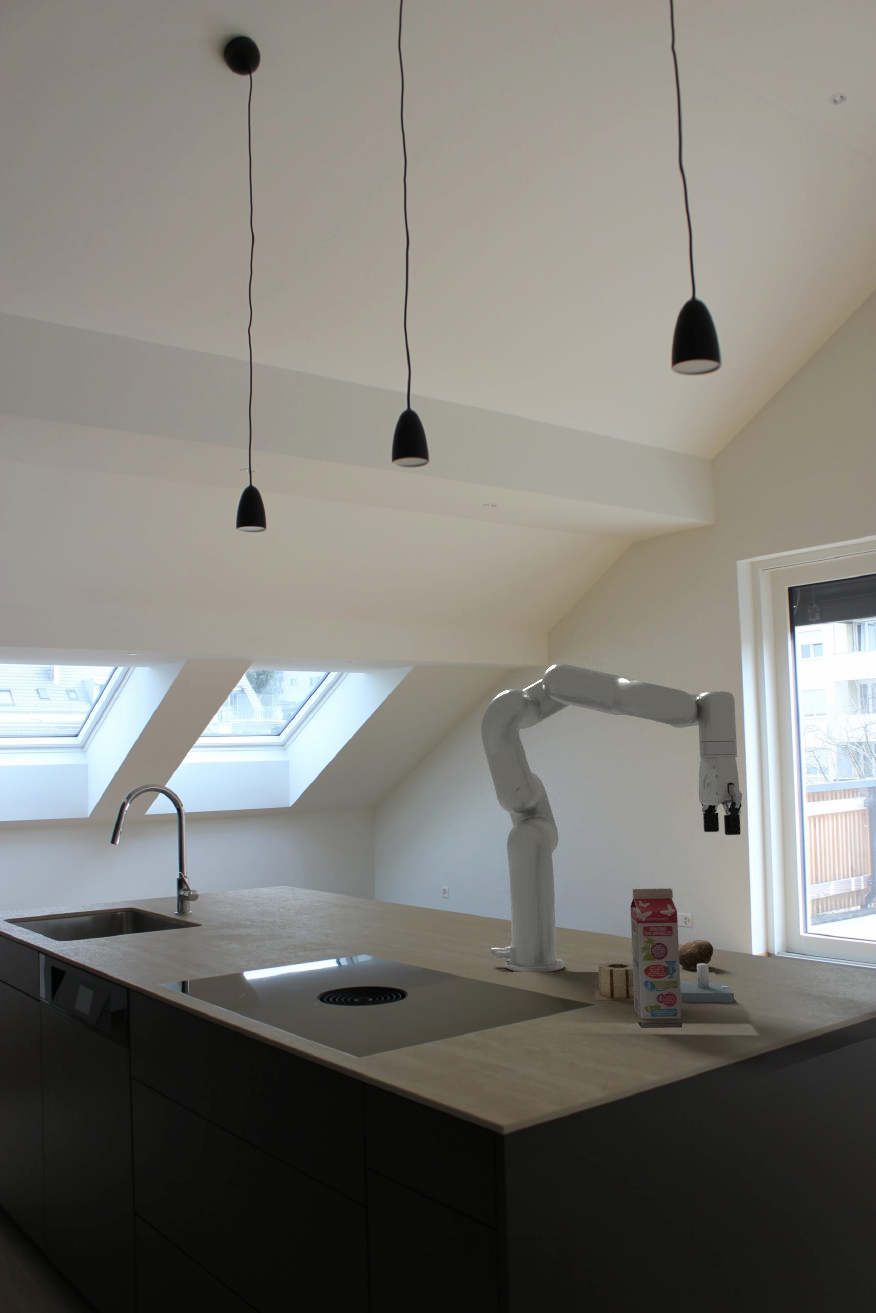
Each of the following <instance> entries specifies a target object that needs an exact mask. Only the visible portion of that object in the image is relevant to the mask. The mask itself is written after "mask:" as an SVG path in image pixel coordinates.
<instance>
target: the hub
mask: <svg viewBox="0 0 876 1313" xmlns="http://www.w3.org/2000/svg"><path fill="white" fill-rule="evenodd" d="M696 974H697V976H696V977H697V981H680V990H681V1003H735V993H734V991H733V990H732V989H731V988H730V986H729V985H728V984H727V983H726V982H725V981H710V974H709V963H708V964H703V963H700V964H697V969H696Z"/></svg>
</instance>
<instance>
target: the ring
mask: <svg viewBox="0 0 876 1313" xmlns="http://www.w3.org/2000/svg"><path fill="white" fill-rule="evenodd" d="M597 966H598V989H599V994H600V995H601V996H603V997H607V998H614V999H626V998H633V997H634V984H633V963H631V962H622V961H619V962H618V961H617V962H614V961H611V962H603V963H599V964H598V965H597Z"/></svg>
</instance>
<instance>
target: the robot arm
mask: <svg viewBox="0 0 876 1313" xmlns="http://www.w3.org/2000/svg"><path fill="white" fill-rule="evenodd" d="M735 705H736V704H735V697H734V695H733V694H732V693H731V692H729V691H723V690H722V691H721V690H720V691H718V690H717V691H705V692H702V693H700V694H696V693H695V694H692V693H689V692H686V691H684V690H681V689H677V688H672V687H668V686H664V685H659V684H653V683H650V682H645V681H640V680H636V679H631V678H628V677H625V676H622V675H617V674H614V673H613V674H611V673H608V672H603V671H597V670H594V669H591V668H590V669H589V668H585V667H581V666H576V665H572V664H567V663H556V664H555V663H554V664H553V665H551V666H550V667H548V668H547V669H546V670H545V672H544V673H543V676H542V679H540V680H538V681H536V682H535V683H533V684H531V685H529V686H527V687H526V688H524V689H518V688H511V689H510V688H509V689H505V690H503V691H502V692H500V693H499V694H497V695H496V696H494V698H493V699H492V700H491V701H490V702H489V703H488V705H487V707H486V709H485V711H484V713H483V715H482V719H481V723H480V724H481V725H480V731H481V732H480V733H481V734H480V735H481V740H482V745H483V748H484V753H485V755H486V759H487V763H488V767H489V773H490V774H491V778H492V782H493V786H494V790H495V794H496V798H497V801H498V804H499V805H500V807H501V808H502V809H503V810H505V811H506V812H508V814H509V815H510V818H511V820H510V821H511V823H512V825H513V826H512V828H511V829H510V830H509V833H508V837H507V839H506V841H507V842H506V853H507V860H508V869H509V870H508V872H509V895H510V921H511V922H510V925H511V926H510V927H511V930H510V931H511V942H510V945H509V946H505V948H504V947H503V948H502V947H501V948H500V947H491V948H490V950H491V955H490V956H491V957H492V958H496V959H503V958H505V959H507V960H505V962H504V966H505V968H506V969H508V970H510V971H515V972H520V973H521V972H523V973H543V972H544V973H548V972H554V971H555V972H556V971H559V970H562V969H563V968H565V962H564V960H562V959H560V958H558V957H557V936H556V935H557V934H556V932H557V931H556V902H555V879H554V878H555V877H554V867H553V853H554V852H555V850H556V848H557V847H558V843H559V831H558V827H557V824H556V820H555V817H554V814H553V811H552V810H553V809H552V808H551V804H550V801H549V797H548V795H547V794H548V793H547V790H546V788H545V786H544V783H543V781H542V780H541V778H540V777H539V776H538V775H537V774H535V773H533V772H532V771H531V769H530V766H529V762H528V759H527V755H526V751H525V749H524V748H525V747H524V746H523V743H522V742H523V741H521V736H520V729H529V728H532V727H534V726H536V725H538V724H540V723H541V722H543V721H544V720H546V719H548V718H550V717H552V716H553V715H555V714H557V713H559V712H560V711H563V710H564V709H565V708H567V707H568V706H574V707H579V708H584V709H588V710H592V711H596V712H600V713H603V714H604V713H605V714H609V715H614V716H630V717H636V718H641V719H645V720H649V721H653V722H658V723H662V724H666V725H669V726H671V727H674V728H679V729H680V728H681V729H682V728H683V729H684V728H688V727H693V726H694V727H695V726H698V737H699V738H698V740H699V745H698V746H699V758H700V761H699V768H698V770H699V772H698V801H699V803H700V804H701V807H702V809H701V812H702V815H703V816H702V817H703V821H702V822H703V831H704V832H705V833H718V832H719V831H720V822H719V812H717V811H718V807H719V806H720V805H722V807H723V810H724V813H725V814H724V815H723V820H724V821H723V825H724V826H723V827H724V835H726V836H740V835H741V832H742V831H741V814H742V812H741V808H742V800H743V793H742V792H741V791H740V783H739V772H738V765H737V759H736V758H738V749H737V748H738V747H737V746H738V745H737V726H736V706H735Z"/></svg>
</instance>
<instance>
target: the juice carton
mask: <svg viewBox="0 0 876 1313" xmlns="http://www.w3.org/2000/svg"><path fill="white" fill-rule="evenodd" d="M673 894H674V893H673V889H672V888H632V901H631V904H630V928H631V930H630V931H631V953H632V955H631V957H632V964H633V984H634V1000H633V1003H634V1004H633V1005H634V1010H635V1012H636V1014H637V1016H639V1018H640V1019H641V1020H643V1019H644V1020H646V1019H647V1020H648V1019H651V1020H652V1019H658V1020H659V1019H663V1020H664V1019H682V1016H683V1015H682V1014H683V1012H682V1002H681V990H680V982H681V970H680V969H681V968H680V964H679V950H680V948H679V947H680V946H679V924H678V922H679V921H678V910H677V908H676V905H675V903H674V900H673V898H674V897H673V896H674V895H673ZM637 1024H638V1025H639V1027H640V1028H641V1029H657V1028H658V1029H661V1028H662V1029H664V1028H666V1029H667V1028H668V1029H669V1028H670V1029H671V1028H672V1029H674V1028H677V1029H678V1028H683V1023H682V1022H648V1021H647V1022H645V1021H644V1022H643V1021H642V1022H641V1021H638V1022H637Z"/></svg>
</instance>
